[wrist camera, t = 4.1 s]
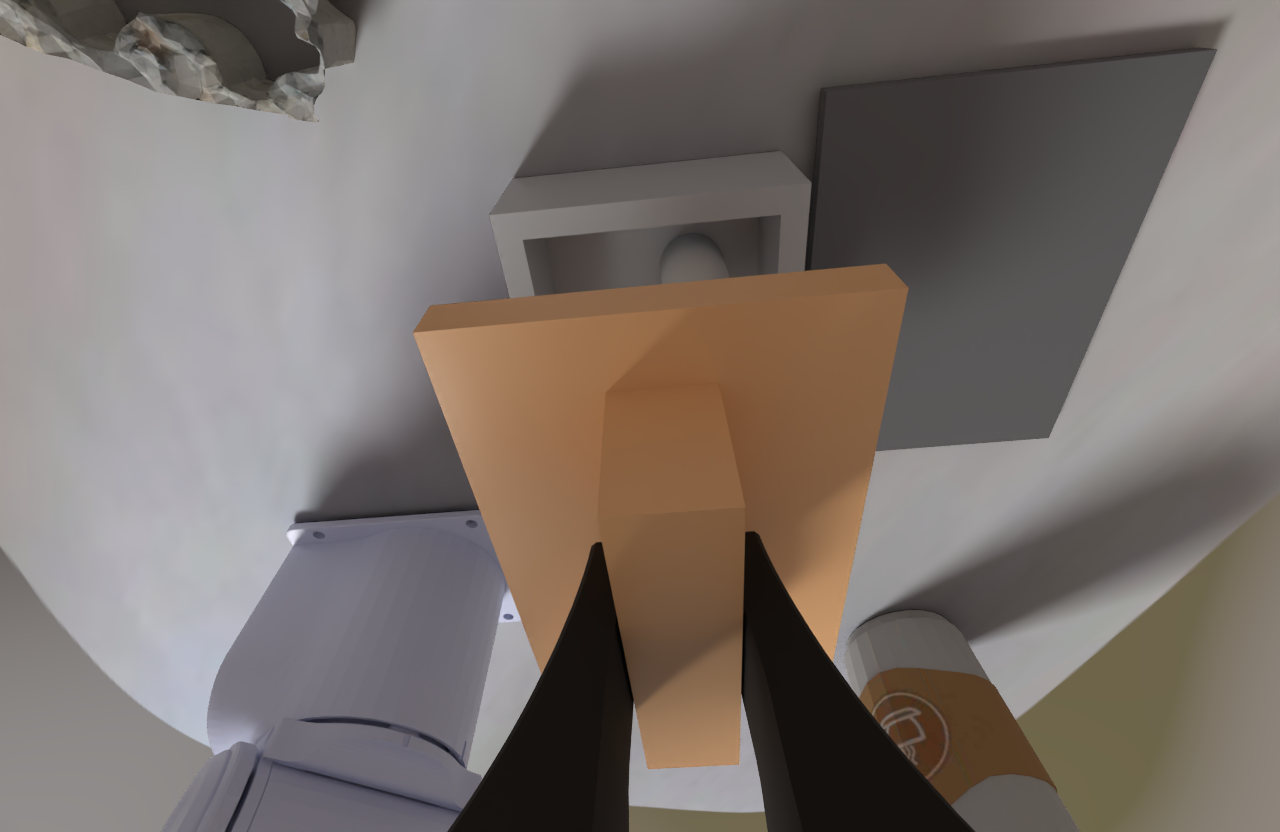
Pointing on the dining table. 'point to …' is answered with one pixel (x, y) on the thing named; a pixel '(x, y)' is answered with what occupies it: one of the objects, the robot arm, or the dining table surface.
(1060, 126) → the mat
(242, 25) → the dining table surface
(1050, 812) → the coffee cup
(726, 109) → the dining table surface
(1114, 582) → the dining table surface
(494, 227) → the parts tub
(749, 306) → the lid
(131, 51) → the grey rock
